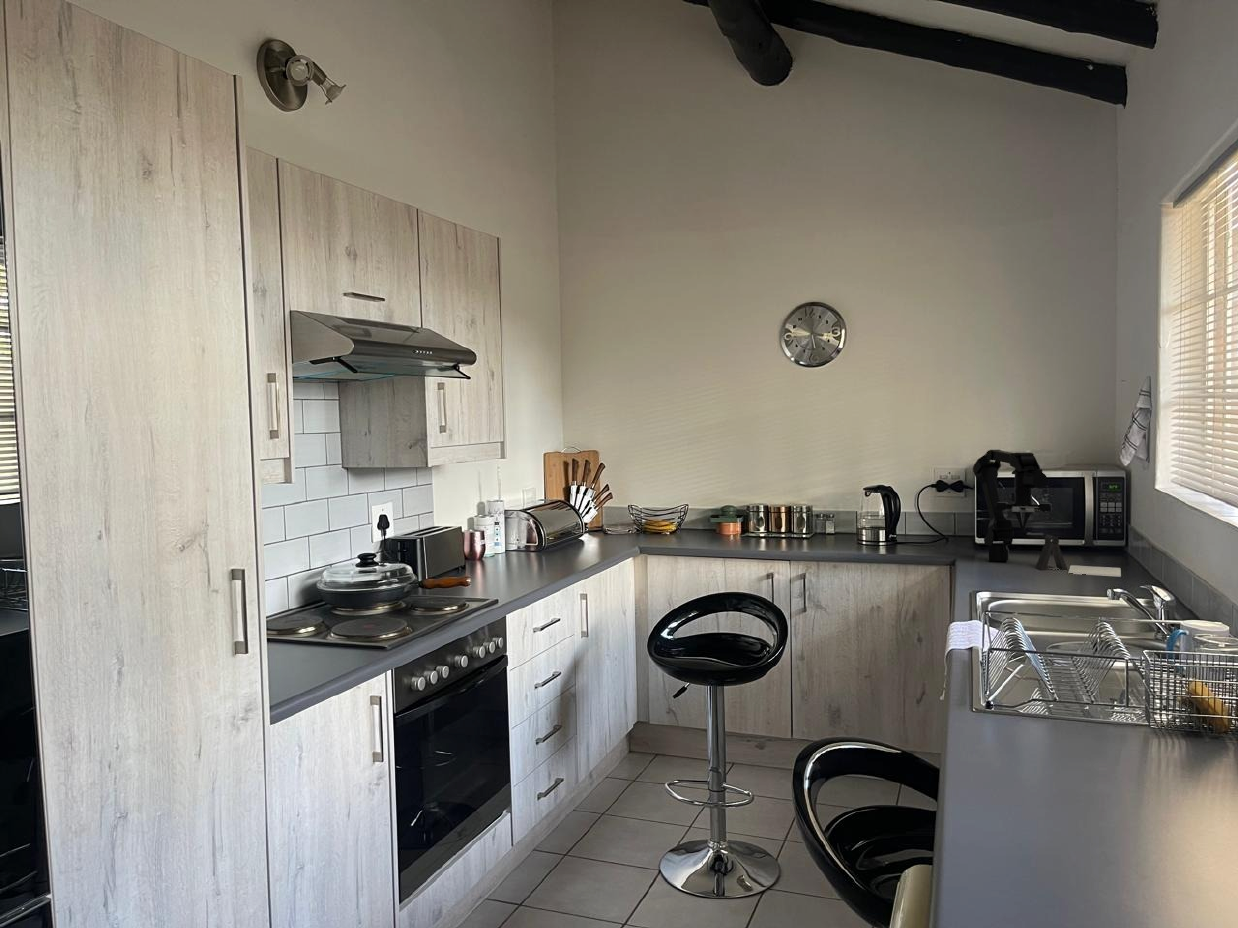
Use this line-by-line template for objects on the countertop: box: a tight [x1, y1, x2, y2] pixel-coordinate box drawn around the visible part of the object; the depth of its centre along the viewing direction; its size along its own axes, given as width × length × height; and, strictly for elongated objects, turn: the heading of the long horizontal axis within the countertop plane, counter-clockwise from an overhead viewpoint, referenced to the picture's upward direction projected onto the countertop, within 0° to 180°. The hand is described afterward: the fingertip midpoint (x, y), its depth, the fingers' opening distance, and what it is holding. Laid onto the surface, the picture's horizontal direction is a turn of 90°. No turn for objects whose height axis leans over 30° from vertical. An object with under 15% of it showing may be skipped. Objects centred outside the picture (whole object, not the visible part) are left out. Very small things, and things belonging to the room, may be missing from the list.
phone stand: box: [1035, 534, 1069, 571], centre depth 347 cm, size 9×6×12 cm, turn 84°
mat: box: [1068, 564, 1122, 578], centre depth 340 cm, size 16×18×1 cm
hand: (1023, 530), depth 352 cm, fingers closed
